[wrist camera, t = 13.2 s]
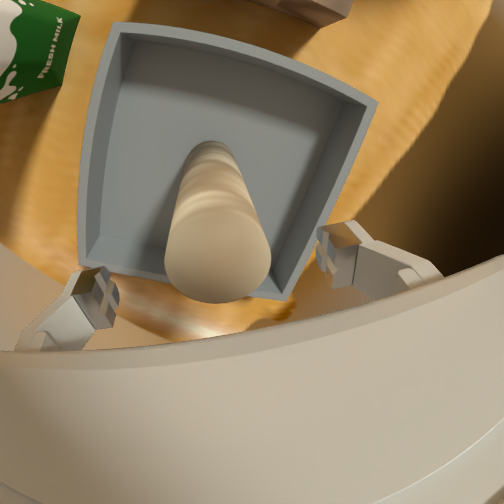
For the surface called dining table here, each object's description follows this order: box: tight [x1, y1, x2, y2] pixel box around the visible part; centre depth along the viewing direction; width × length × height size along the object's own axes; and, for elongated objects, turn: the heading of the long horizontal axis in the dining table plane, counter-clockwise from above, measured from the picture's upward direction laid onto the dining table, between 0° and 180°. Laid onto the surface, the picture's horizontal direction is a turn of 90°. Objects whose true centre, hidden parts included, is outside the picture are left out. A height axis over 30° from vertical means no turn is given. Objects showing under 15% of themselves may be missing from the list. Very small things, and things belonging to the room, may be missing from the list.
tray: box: [77, 22, 379, 301], centre depth 20 cm, size 20×20×5 cm
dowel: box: [164, 141, 271, 304], centre depth 16 cm, size 4×4×14 cm
